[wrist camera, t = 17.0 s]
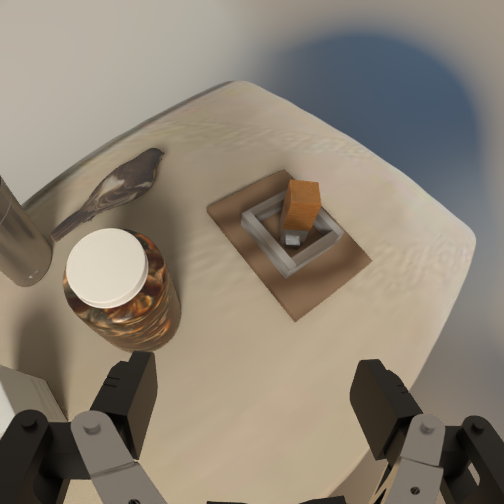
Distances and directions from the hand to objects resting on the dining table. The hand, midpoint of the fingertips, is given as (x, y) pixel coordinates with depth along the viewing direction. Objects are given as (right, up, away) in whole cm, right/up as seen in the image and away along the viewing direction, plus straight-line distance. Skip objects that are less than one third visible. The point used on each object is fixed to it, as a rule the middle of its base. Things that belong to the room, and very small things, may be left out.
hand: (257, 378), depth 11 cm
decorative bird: (-23, +13, +38) cm, 46 cm away
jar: (-16, -4, +30) cm, 34 cm away
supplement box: (-30, -18, +20) cm, 40 cm away
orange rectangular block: (+6, +7, +37) cm, 38 cm away
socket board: (+5, +7, +38) cm, 39 cm away
